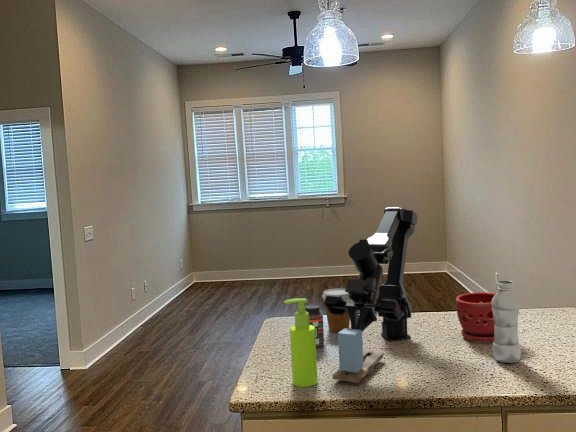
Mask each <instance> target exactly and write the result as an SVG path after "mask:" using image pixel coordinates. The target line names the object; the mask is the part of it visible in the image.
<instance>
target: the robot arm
mask: <svg viewBox="0 0 576 432" xmlns="http://www.w3.org/2000/svg"><path fill="white" fill-rule="evenodd" d="M417 224H418V214H417V213H416V212H415V211H414V210H413V209H406V208H404V207H400V206H391V207H390V206H389V207H385V208H384V211H383V216H382V218H381V220H380V222H379V225H378V228H377V229H376V231H375V233H374V234H373V235H371V236H370V237H368V238H365V239H364V238H360V239H359V241H358V242H356V243H354V244H353V245H352V246H351V247H350V248H349V249H348V257H349V258H350V260H351V262H352V264H353V266H354V268H355V270H356V271H357V272H359V274H358V278H357V279H356V278H346V283H345V287H344V289H345V292H348V293H349V298H350V299H351V300H346V301H344V300H343V299H342V297H341V296H338V295H328V296H326V297H325V300H324V299H323V305H324V307H325V306H326V308H327V309H328V311H329V313H330V314H332V315H341V316H342V315H343V314H345V312H346V313H347V315H348V316H349V318H350V329H357V330H362V333H363V332H364V331H365V330H366V329H367V328H368V327H369V326H370V325H371V324H372V323H374V322H377V321H378V317H382V321H381V333H380V336H381V337H383V338H386V339H387V340H389V341H392V342H393V341H398V340H404V339H408V338H411V335H410V334H408V319H411V318H412V306H411V304H410V302H409V300H408V299H409V298H408V294H407V291H406V290H405V288H404V286H403V284H404V283H403V282H404V275H405V267H406V258H407V250H408V249H407V248H408V242H409V241H408V240H409V239H410V238H411V236H412V235H413V234H414V232H415V228H416V226H417ZM382 265H388V267H387V268H388V269H387V274H386V275H387V276H386V281H385V283H383V284H381V282H382V279H384V268H383V267H382Z"/></svg>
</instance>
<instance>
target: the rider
mask: <svg viewBox="0 0 576 432" xmlns="http://www.w3.org/2000/svg"><path fill="white" fill-rule="evenodd" d="M337 339H338V343H337V344H338V362H339V364H338V365H339V368H340V370H341V371H348V375H350V374H351V373H352V372H354V373H358V372H359V371H360V370H361V369H362V368H363V362H364V360H363V351H364V348H363V332H362V330H357V329H351V328H349V329H348V328H344V329H343V330H341V331H340V332H337Z"/></svg>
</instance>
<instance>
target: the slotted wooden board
mask: <svg viewBox="0 0 576 432" xmlns="http://www.w3.org/2000/svg"><path fill="white" fill-rule="evenodd" d="M383 358H384V352H378V351H371V350H370V351H369V350H363V368H362V369H361V370H360V371H359V372H358V373H354V372H352V373H351V374H350V375H348V371H341V370H340V367H339V368H338V369H337V370H336V371H335V372H334V373H333V374H332V379H333V380H338V381H345V382H351V383H356V384H358V383H359V382H360V381H361V380H362V379H363V378H365V376H366V377H369V376H370V375H371V374H372V373H373V372H374V371H375V369H374V367H375V366H376V365H377V364H378V363H379V362H380V361H381V360H382V359H383Z"/></svg>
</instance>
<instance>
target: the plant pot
mask: <svg viewBox="0 0 576 432" xmlns="http://www.w3.org/2000/svg"><path fill="white" fill-rule="evenodd" d="M495 294H496V293H494V292H493V293H492V292H468V293H463V294H460V295H457V296H456V297H455V307H456V312H457V318H458V321H459V325H460V326H461V328H462V329H461V331H460V333H461V335H462V336H463V338H465V339H466V340H467V341H470V342H475V343H480V344H487V343H488V344H489V343H493V342H494V330H495V328H494V317H493V311H492V305H491V301H492V298H493V297H494V295H495Z"/></svg>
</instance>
